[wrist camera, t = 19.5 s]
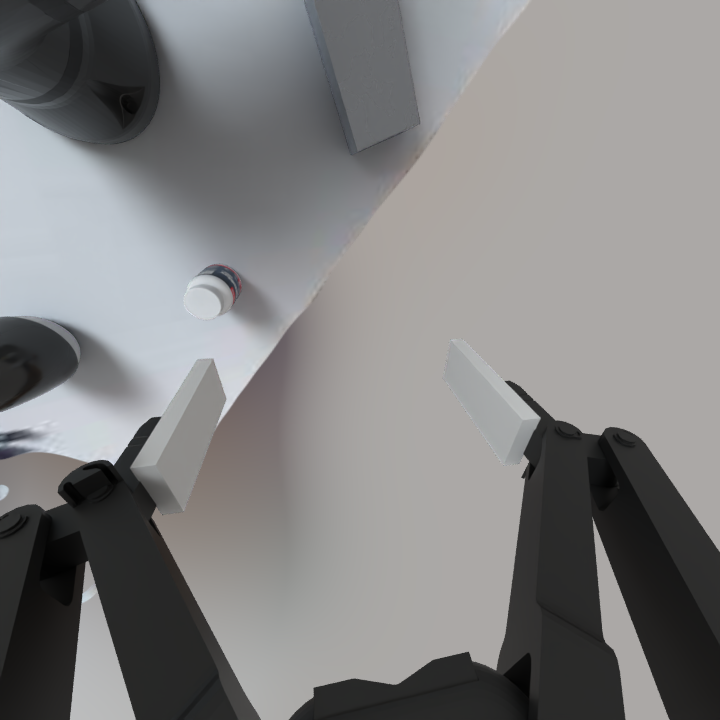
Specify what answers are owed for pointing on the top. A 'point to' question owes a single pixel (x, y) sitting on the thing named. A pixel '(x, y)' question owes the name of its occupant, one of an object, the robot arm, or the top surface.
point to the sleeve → (365, 67)
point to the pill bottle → (212, 292)
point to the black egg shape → (33, 358)
